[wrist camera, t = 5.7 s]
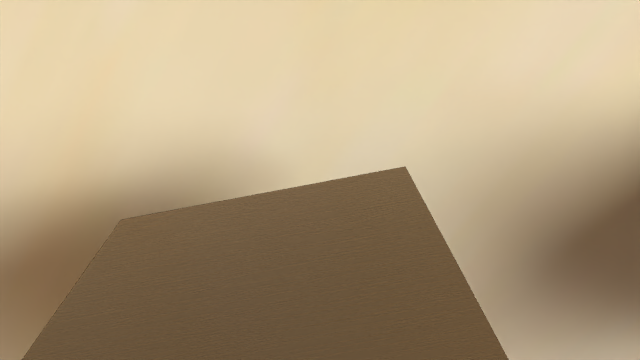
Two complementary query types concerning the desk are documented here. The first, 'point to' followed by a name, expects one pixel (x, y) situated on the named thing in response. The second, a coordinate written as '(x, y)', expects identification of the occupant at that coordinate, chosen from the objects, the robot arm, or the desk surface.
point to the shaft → (277, 282)
